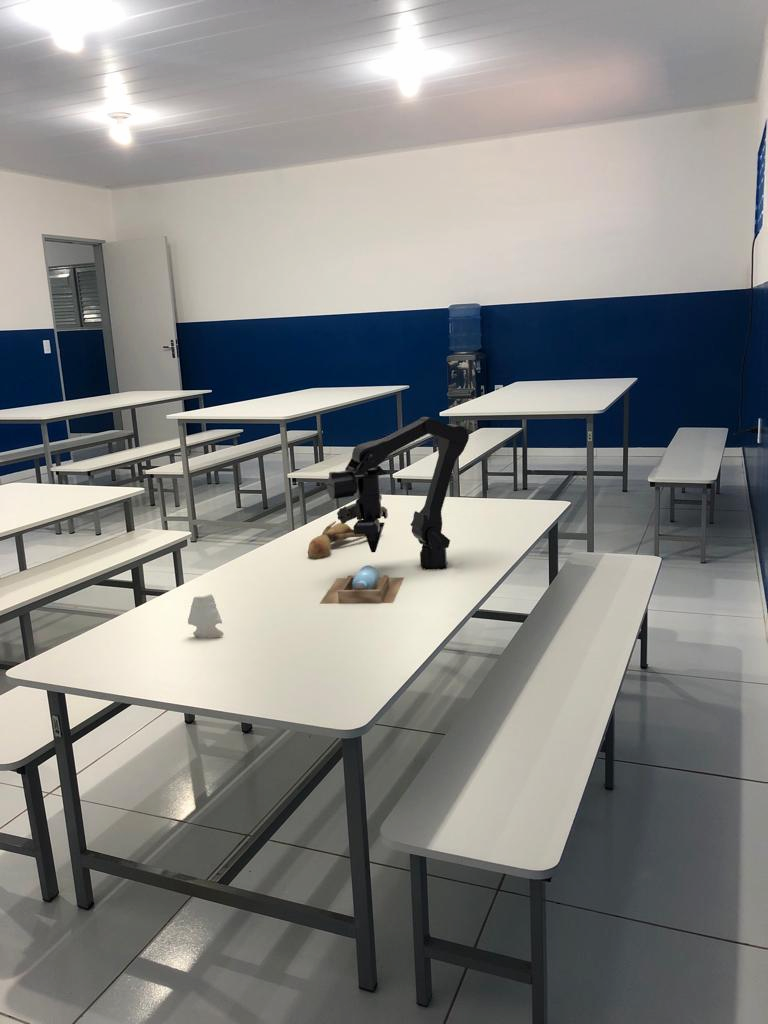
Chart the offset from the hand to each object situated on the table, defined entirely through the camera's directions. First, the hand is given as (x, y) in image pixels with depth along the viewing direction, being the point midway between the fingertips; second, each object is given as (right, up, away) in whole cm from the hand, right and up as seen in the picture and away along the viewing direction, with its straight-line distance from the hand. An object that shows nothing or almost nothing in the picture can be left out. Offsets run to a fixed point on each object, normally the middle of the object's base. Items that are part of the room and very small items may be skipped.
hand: (373, 551), depth 220 cm
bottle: (-1, -6, -6) cm, 8 cm away
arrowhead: (-37, -18, -32) cm, 52 cm away
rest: (-2, -10, -9) cm, 13 cm away
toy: (-12, -1, +37) cm, 39 cm away
